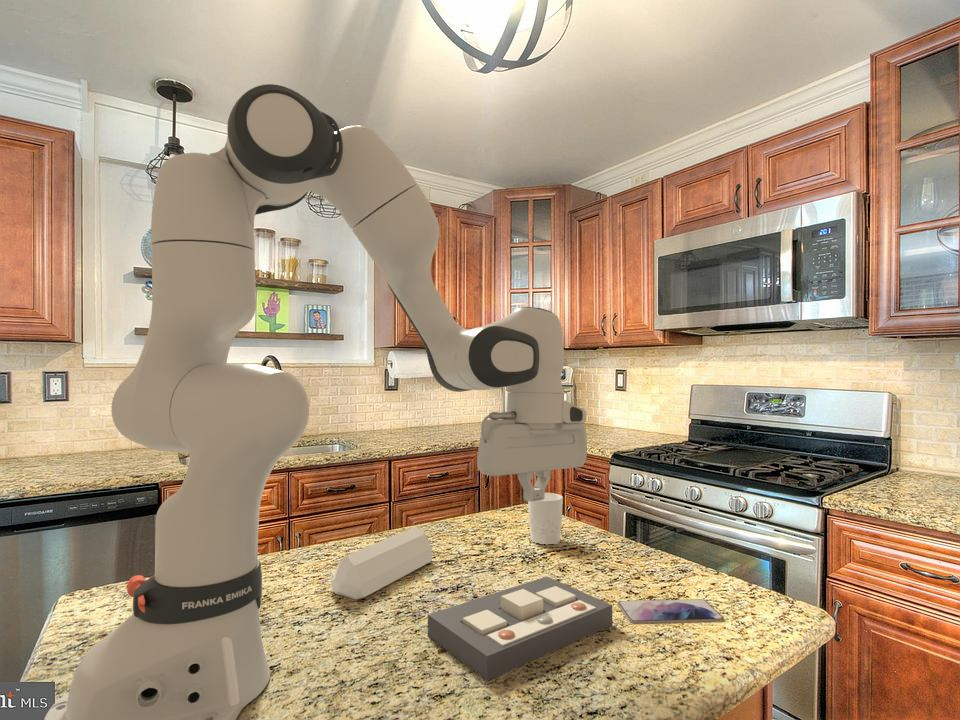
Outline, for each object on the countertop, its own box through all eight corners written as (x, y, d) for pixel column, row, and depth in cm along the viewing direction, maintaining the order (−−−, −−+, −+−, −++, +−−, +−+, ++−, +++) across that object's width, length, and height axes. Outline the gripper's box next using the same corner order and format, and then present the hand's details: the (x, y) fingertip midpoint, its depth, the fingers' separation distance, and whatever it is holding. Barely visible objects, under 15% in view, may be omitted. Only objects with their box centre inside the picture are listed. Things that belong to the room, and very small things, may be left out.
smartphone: (726, 619, 81) (630, 621, 80) (726, 624, 81) (630, 627, 80) (704, 598, 88) (616, 600, 87) (704, 603, 88) (616, 605, 87)
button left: (481, 652, 71) (481, 630, 71) (462, 639, 74) (462, 617, 74) (506, 642, 73) (506, 620, 73) (487, 630, 77) (487, 609, 77)
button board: (487, 680, 65) (487, 652, 65) (427, 635, 76) (427, 611, 76) (612, 625, 80) (612, 602, 80) (547, 593, 91) (547, 573, 91)
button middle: (520, 627, 75) (520, 606, 75) (501, 616, 78) (501, 596, 79) (543, 619, 78) (543, 598, 78) (523, 608, 81) (523, 588, 81)
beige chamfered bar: (363, 584, 85) (445, 543, 106) (335, 555, 88) (420, 521, 109) (346, 619, 87) (430, 572, 108) (319, 589, 90) (406, 549, 111)
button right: (555, 622, 79) (555, 602, 79) (535, 612, 83) (535, 592, 83) (575, 614, 82) (575, 595, 82) (555, 604, 85) (555, 586, 85)
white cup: (553, 548, 114) (553, 502, 114) (521, 542, 118) (521, 497, 119) (568, 539, 121) (568, 495, 121) (537, 533, 125) (537, 491, 125)
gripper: (495, 413, 75) (494, 512, 74) (593, 411, 87) (593, 496, 86) (469, 411, 80) (468, 504, 79) (565, 409, 92) (565, 490, 91)
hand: (534, 500), depth 82 cm, fingers closed
